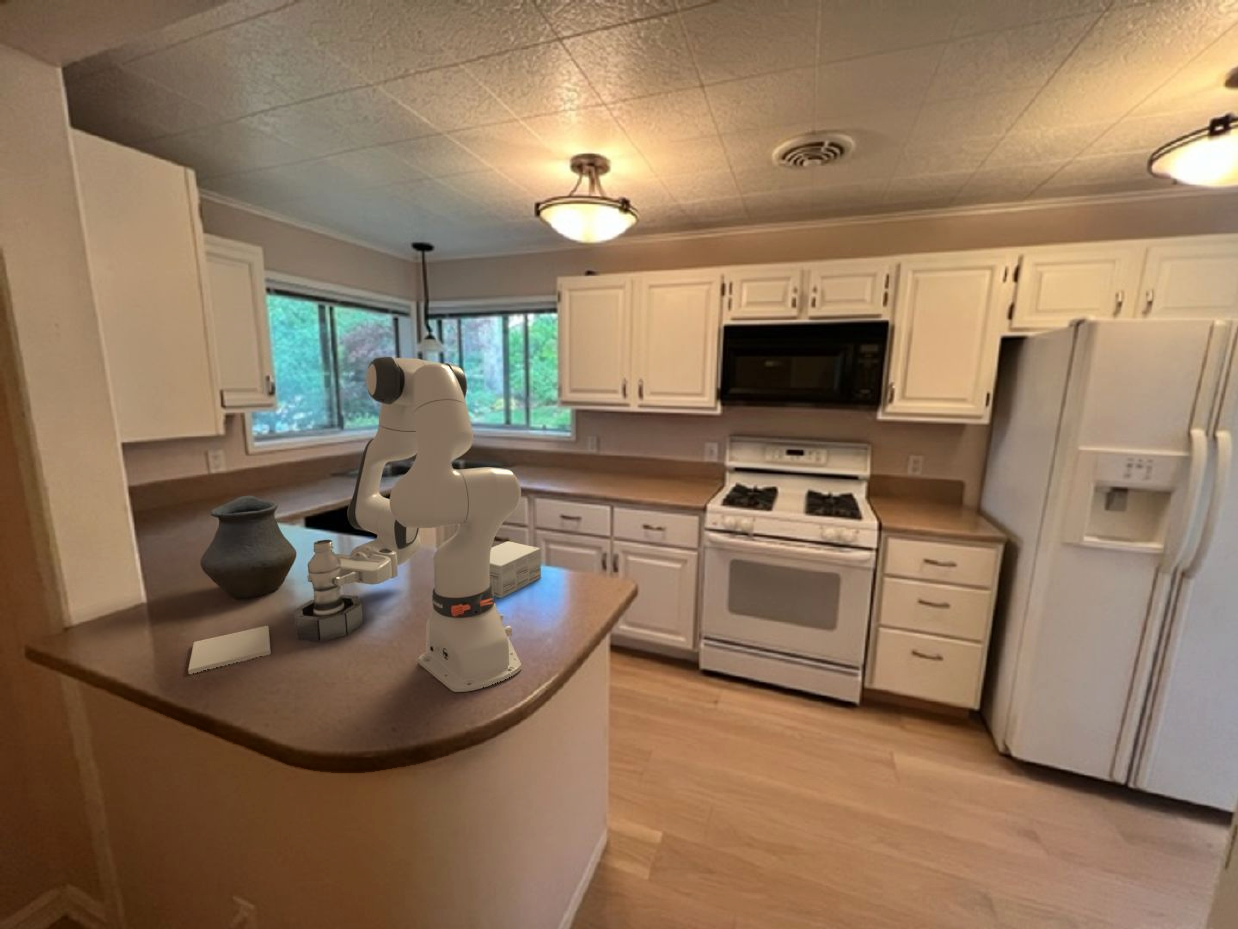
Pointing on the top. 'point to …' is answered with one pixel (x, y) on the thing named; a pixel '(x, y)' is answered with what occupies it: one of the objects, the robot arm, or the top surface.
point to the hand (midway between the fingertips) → (322, 581)
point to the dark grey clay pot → (248, 549)
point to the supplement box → (513, 567)
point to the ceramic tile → (229, 649)
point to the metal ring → (328, 621)
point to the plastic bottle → (325, 580)
